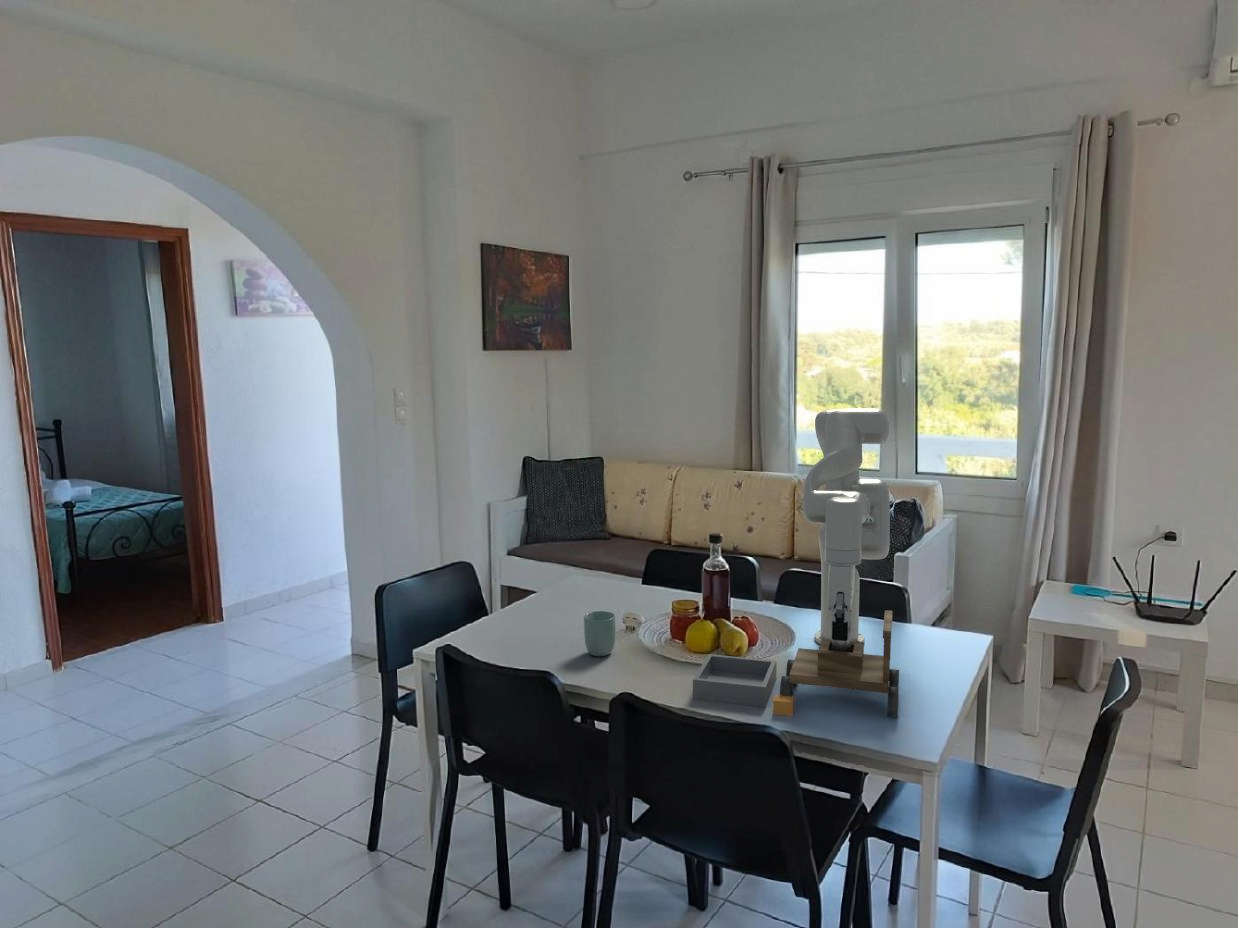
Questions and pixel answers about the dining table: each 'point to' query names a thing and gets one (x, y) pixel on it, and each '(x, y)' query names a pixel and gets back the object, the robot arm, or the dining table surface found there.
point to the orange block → (783, 705)
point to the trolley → (846, 669)
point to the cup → (599, 632)
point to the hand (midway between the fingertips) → (841, 632)
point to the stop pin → (843, 645)
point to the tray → (735, 680)
